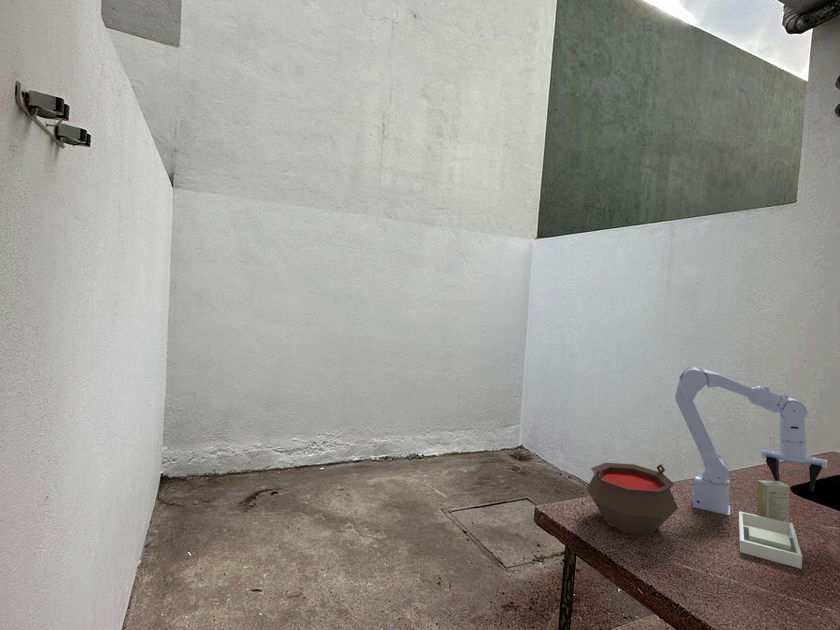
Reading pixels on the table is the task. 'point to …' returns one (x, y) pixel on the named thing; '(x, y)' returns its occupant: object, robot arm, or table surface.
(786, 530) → the white rectangular tray
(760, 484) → the skincare box
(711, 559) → the table surface
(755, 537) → the pale green block
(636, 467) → the brown cauldron
